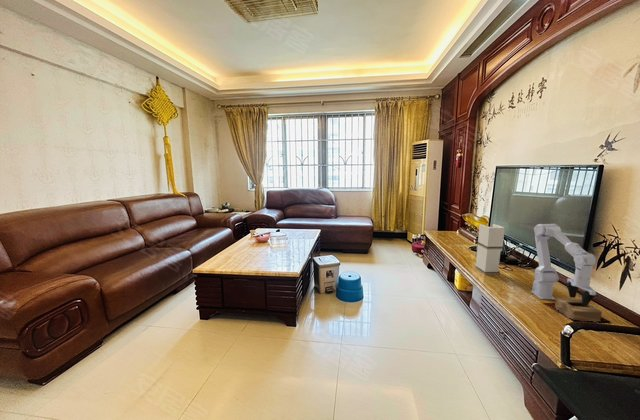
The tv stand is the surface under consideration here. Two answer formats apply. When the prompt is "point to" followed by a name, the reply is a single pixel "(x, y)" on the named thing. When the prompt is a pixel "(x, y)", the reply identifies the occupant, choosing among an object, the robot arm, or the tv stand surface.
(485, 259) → the stacked grey cubes
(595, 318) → the box
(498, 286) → the tv stand surface
